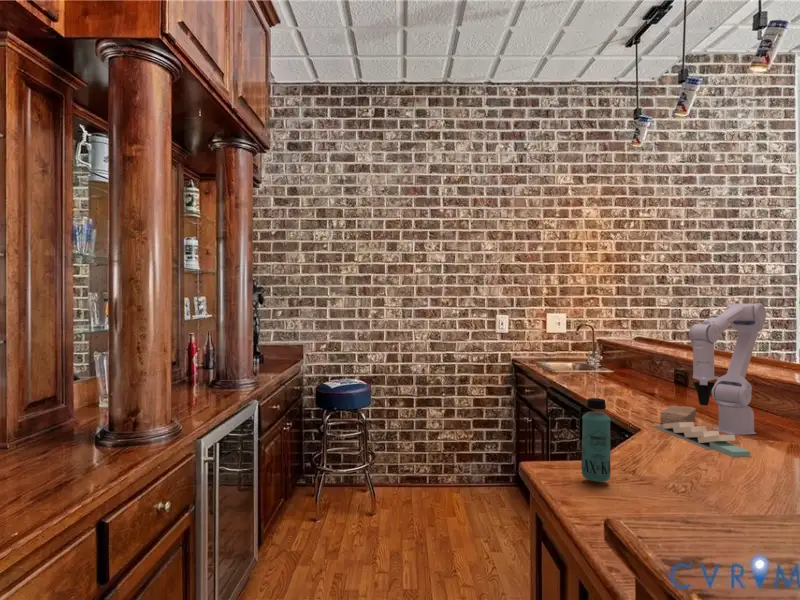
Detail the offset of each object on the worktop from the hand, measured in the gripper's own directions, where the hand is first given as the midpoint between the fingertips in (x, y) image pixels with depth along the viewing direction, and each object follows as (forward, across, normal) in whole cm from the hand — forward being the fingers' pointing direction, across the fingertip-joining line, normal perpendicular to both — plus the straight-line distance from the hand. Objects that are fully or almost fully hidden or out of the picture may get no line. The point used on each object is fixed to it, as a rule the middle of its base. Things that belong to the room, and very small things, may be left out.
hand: (703, 405), depth 156 cm
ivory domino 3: (+9, -2, +3) cm, 10 cm away
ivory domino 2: (+9, +2, +6) cm, 12 cm away
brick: (+10, +19, +8) cm, 23 cm away
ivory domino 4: (+9, -7, 0) cm, 12 cm away
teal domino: (+9, -11, -4) cm, 15 cm away
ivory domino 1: (+9, +7, +10) cm, 15 cm away
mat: (+10, -1, +4) cm, 11 cm away
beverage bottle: (+11, -60, +21) cm, 64 cm away
